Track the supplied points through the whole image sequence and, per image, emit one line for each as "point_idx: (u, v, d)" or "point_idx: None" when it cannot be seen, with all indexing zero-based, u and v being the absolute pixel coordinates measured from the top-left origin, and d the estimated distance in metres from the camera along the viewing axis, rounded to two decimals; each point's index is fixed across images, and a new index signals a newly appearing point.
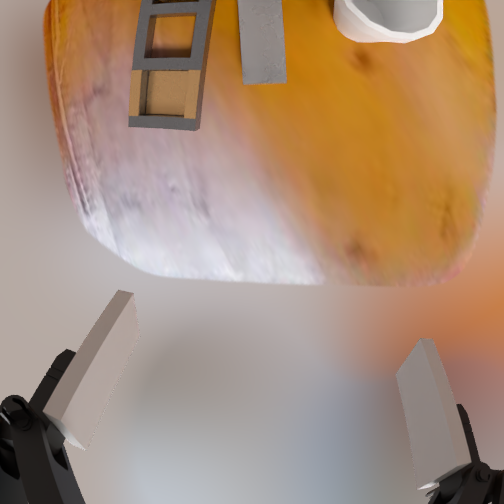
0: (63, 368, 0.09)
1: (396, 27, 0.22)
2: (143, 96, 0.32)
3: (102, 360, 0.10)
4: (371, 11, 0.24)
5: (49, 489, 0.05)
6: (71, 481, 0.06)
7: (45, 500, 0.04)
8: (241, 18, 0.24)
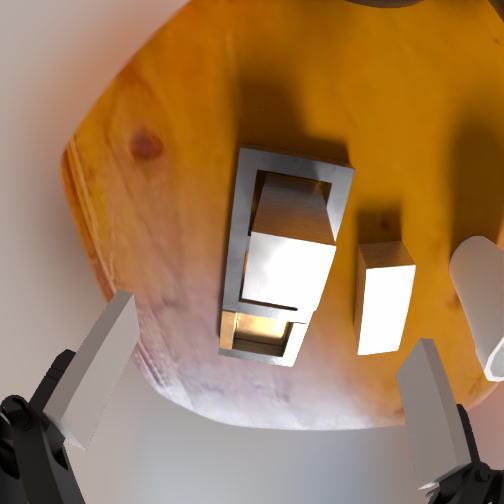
0: (63, 368, 0.09)
1: None
2: (234, 329, 0.33)
3: (102, 360, 0.10)
4: None
5: (49, 489, 0.05)
6: (71, 481, 0.06)
7: (45, 500, 0.04)
8: (367, 299, 0.25)
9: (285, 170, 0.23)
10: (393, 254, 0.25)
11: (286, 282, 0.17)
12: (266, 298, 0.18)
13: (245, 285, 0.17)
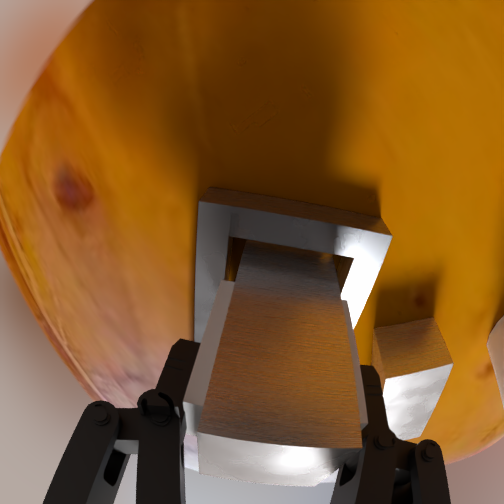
0: (183, 357, 0.11)
1: None
2: None
3: None
4: None
5: (169, 490, 0.06)
6: (183, 481, 0.07)
7: (159, 500, 0.05)
8: None
9: (276, 238, 0.14)
10: (423, 345, 0.16)
11: (268, 472, 0.08)
12: (237, 478, 0.09)
13: (201, 467, 0.08)
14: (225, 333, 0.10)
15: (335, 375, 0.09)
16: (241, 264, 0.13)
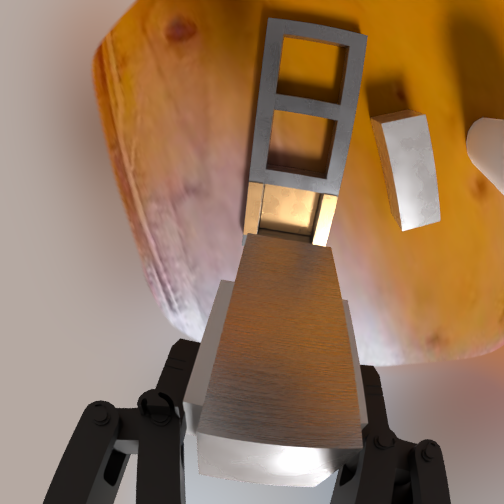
0: (183, 357, 0.11)
1: None
2: (260, 211, 0.32)
3: None
4: None
5: (169, 490, 0.06)
6: (183, 481, 0.07)
7: (159, 500, 0.05)
8: (392, 157, 0.24)
9: (308, 34, 0.21)
10: (403, 114, 0.23)
11: (267, 473, 0.08)
12: (237, 478, 0.09)
13: (201, 468, 0.08)
14: (225, 333, 0.10)
15: (335, 375, 0.09)
16: (241, 264, 0.13)
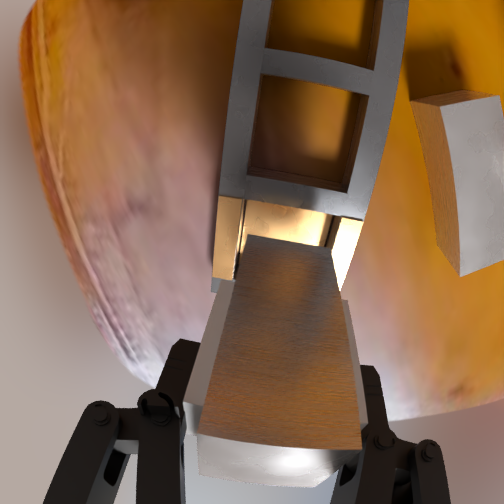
0: (183, 357, 0.11)
1: None
2: (238, 242, 0.21)
3: None
4: None
5: (169, 490, 0.06)
6: (183, 481, 0.07)
7: (159, 500, 0.05)
8: (455, 164, 0.13)
9: None
10: (462, 95, 0.12)
11: (267, 473, 0.08)
12: (237, 479, 0.09)
13: (201, 469, 0.08)
14: (225, 334, 0.10)
15: (335, 376, 0.09)
16: (241, 265, 0.13)
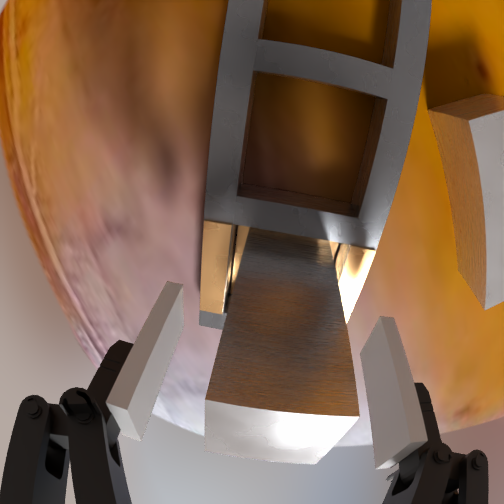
0: (118, 359, 0.10)
1: None
2: (229, 271, 0.18)
3: (158, 349, 0.11)
4: None
5: (102, 486, 0.05)
6: (122, 478, 0.07)
7: (95, 497, 0.05)
8: (485, 189, 0.10)
9: None
10: (489, 102, 0.10)
11: (270, 446, 0.09)
12: (241, 455, 0.10)
13: (207, 443, 0.09)
14: (230, 312, 0.11)
15: (333, 350, 0.10)
16: (244, 252, 0.14)
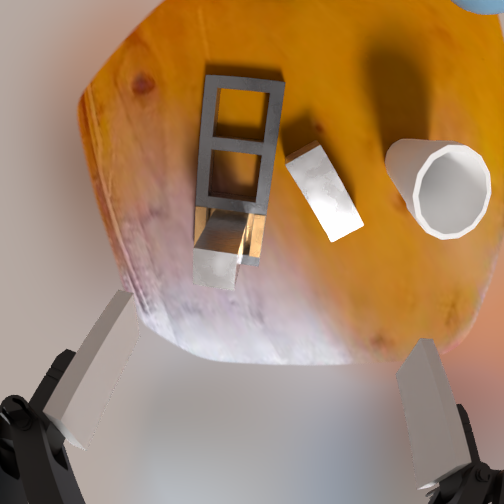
0: (63, 368, 0.09)
1: (440, 185, 0.30)
2: None
3: (102, 360, 0.10)
4: None
5: (49, 489, 0.05)
6: (71, 481, 0.06)
7: (45, 500, 0.04)
8: (302, 187, 0.33)
9: (236, 86, 0.30)
10: (306, 148, 0.33)
11: (214, 274, 0.31)
12: (205, 283, 0.32)
13: (193, 276, 0.32)
14: (203, 232, 0.33)
15: (234, 241, 0.32)
16: (211, 217, 0.37)
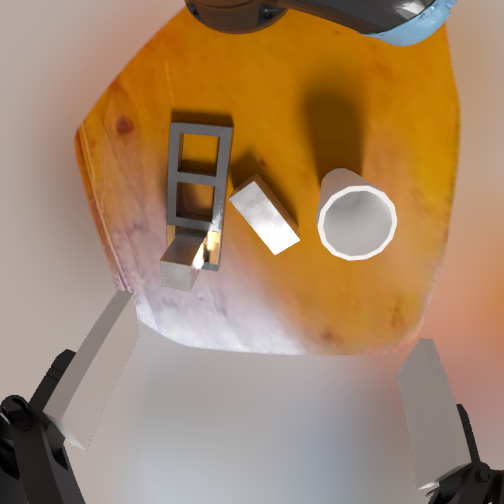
0: (63, 368, 0.09)
1: (365, 210, 0.40)
2: None
3: (101, 360, 0.10)
4: None
5: (49, 489, 0.05)
6: (71, 481, 0.06)
7: (45, 500, 0.04)
8: (244, 215, 0.43)
9: (194, 132, 0.40)
10: (246, 182, 0.43)
11: (175, 279, 0.42)
12: (170, 286, 0.42)
13: (161, 280, 0.42)
14: (169, 247, 0.43)
15: (191, 255, 0.42)
16: (178, 233, 0.47)
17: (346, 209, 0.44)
